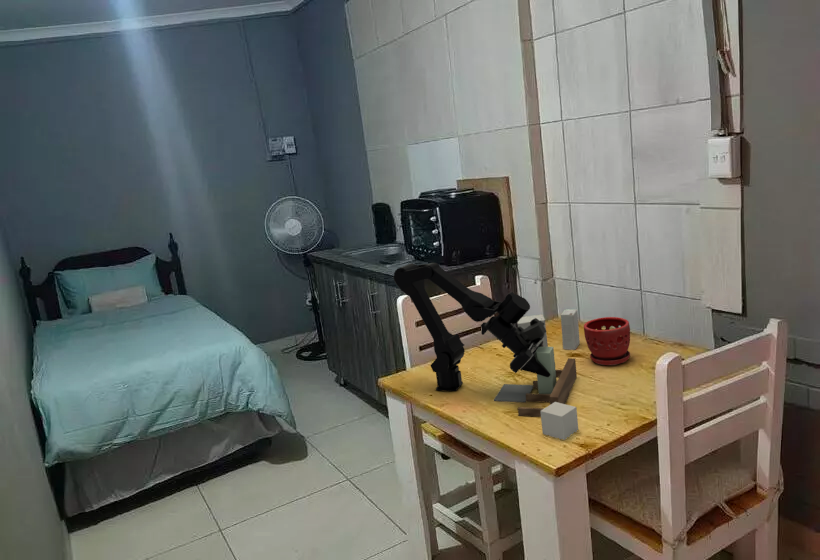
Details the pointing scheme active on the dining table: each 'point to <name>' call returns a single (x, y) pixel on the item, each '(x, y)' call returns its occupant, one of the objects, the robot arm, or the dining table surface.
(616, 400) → the dining table surface
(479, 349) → the dining table surface
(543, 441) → the dining table surface
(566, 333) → the skincare box
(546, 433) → the light grey cube
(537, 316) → the skincare box
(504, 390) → the slate mat
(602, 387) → the dining table surface
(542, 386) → the sage block
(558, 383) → the lane rack
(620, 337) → the plant pot
